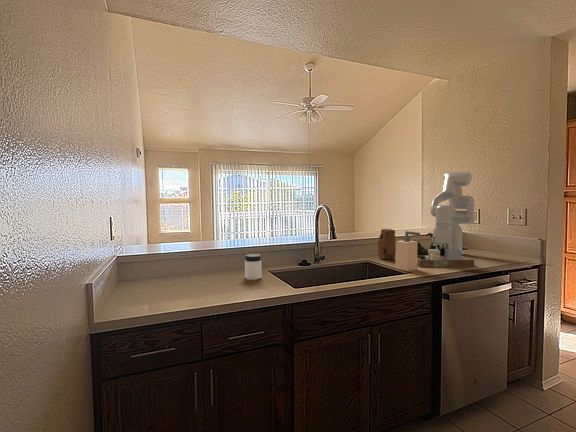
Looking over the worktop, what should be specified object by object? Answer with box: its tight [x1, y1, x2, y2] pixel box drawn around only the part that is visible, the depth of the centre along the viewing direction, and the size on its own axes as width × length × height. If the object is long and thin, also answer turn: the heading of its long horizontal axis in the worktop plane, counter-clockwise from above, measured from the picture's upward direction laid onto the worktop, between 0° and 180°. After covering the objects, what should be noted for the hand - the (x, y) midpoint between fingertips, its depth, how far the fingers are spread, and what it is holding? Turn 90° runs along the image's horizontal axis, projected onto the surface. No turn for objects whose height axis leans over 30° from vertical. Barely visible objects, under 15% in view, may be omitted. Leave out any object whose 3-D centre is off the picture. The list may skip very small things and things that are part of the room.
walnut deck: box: [417, 255, 475, 268], centre depth 199 cm, size 15×32×4 cm, turn 90°
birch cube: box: [427, 248, 440, 259], centre depth 198 cm, size 5×5×5 cm
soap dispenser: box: [394, 230, 421, 272], centre depth 184 cm, size 13×9×22 cm
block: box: [377, 228, 397, 260], centre depth 217 cm, size 11×8×20 cm
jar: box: [244, 253, 263, 281], centre depth 168 cm, size 9×8×12 cm
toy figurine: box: [416, 232, 436, 256], centre depth 221 cm, size 9×19×25 cm
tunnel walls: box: [436, 246, 462, 260], centre depth 199 cm, size 15×8×6 cm, turn 0°
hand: (441, 255), depth 199 cm, fingers closed
